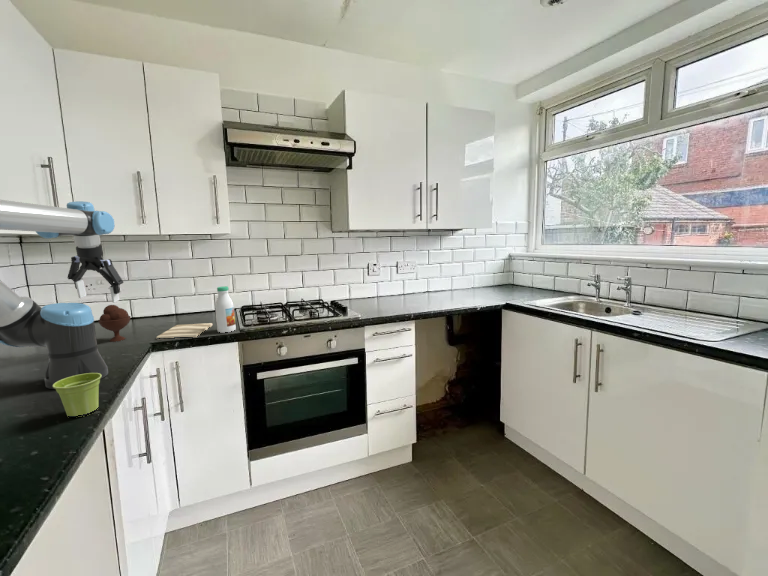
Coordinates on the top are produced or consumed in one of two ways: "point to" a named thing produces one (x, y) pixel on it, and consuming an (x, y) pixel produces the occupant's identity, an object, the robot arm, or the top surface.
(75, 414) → the plant pot
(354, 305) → the top surface
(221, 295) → the milk bottle
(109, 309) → the ice cream bowl
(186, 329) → the birch board
